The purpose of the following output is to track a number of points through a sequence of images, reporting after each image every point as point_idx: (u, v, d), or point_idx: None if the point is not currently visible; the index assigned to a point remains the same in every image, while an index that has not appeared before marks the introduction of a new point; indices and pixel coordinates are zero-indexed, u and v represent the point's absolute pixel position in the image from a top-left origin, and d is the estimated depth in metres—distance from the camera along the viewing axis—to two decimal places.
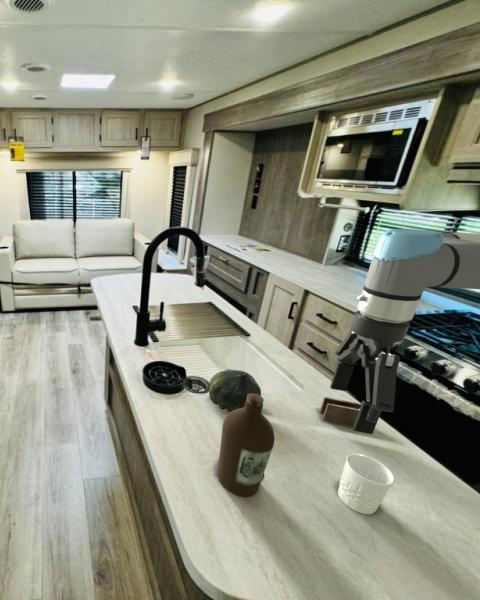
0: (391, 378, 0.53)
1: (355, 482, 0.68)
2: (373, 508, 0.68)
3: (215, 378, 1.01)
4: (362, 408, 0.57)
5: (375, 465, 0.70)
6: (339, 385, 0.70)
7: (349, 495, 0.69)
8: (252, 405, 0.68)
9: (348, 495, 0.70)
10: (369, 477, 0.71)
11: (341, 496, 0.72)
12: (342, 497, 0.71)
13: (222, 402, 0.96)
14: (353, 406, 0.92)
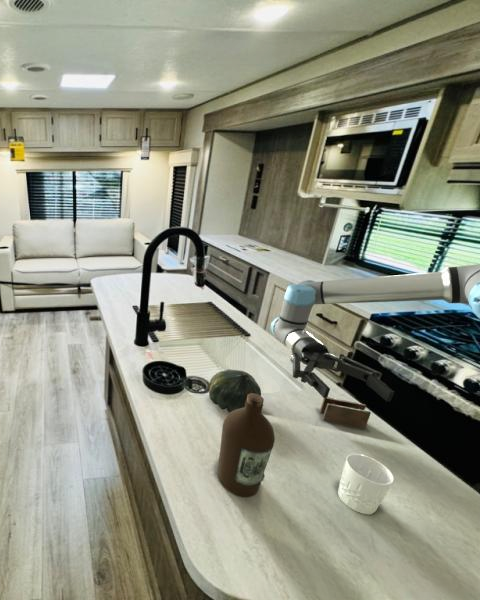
0: None
1: (355, 482, 0.68)
2: (373, 508, 0.68)
3: (215, 378, 1.01)
4: (376, 378, 0.75)
5: (375, 465, 0.70)
6: None
7: (349, 495, 0.69)
8: (252, 405, 0.68)
9: (348, 495, 0.70)
10: (369, 477, 0.71)
11: (341, 496, 0.72)
12: (342, 497, 0.71)
13: (222, 402, 0.96)
14: (353, 406, 0.92)
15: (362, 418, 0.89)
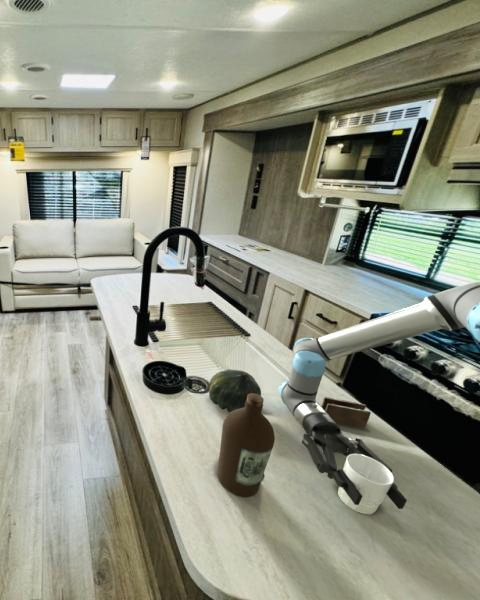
0: None
1: (355, 482, 0.68)
2: (373, 508, 0.68)
3: (215, 378, 1.01)
4: None
5: (375, 465, 0.70)
6: None
7: None
8: (252, 405, 0.68)
9: None
10: (369, 477, 0.71)
11: (341, 496, 0.72)
12: (342, 497, 0.71)
13: (222, 402, 0.96)
14: (353, 406, 0.92)
15: (362, 418, 0.89)
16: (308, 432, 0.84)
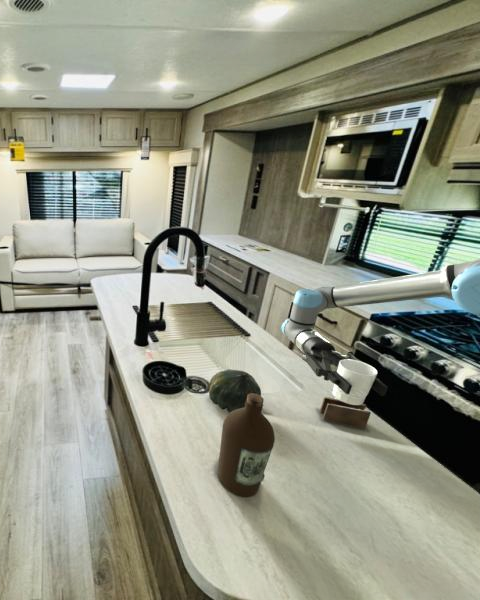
0: None
1: (346, 378, 0.83)
2: (361, 399, 0.83)
3: (215, 378, 1.01)
4: None
5: (363, 366, 0.85)
6: None
7: (341, 390, 0.85)
8: (252, 405, 0.68)
9: (341, 391, 0.85)
10: None
11: (335, 394, 0.87)
12: (336, 395, 0.87)
13: (222, 402, 0.96)
14: (353, 406, 0.92)
15: (362, 418, 0.89)
16: (307, 352, 0.99)
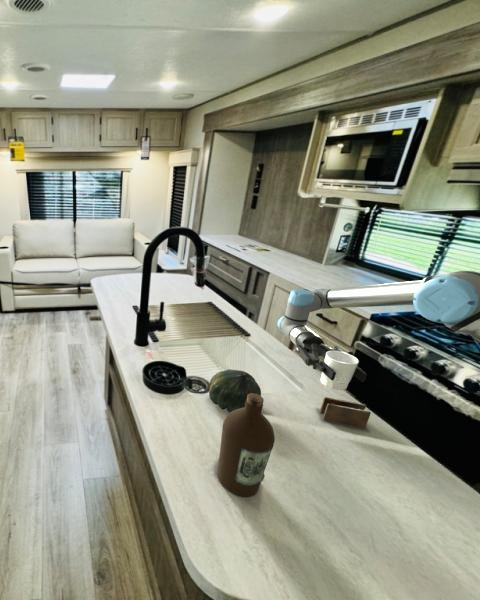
0: None
1: (332, 366, 0.95)
2: (344, 385, 0.95)
3: (215, 378, 1.01)
4: None
5: (346, 357, 0.98)
6: None
7: None
8: (252, 405, 0.68)
9: (327, 378, 0.97)
10: None
11: (322, 381, 0.99)
12: (323, 381, 0.99)
13: (222, 402, 0.96)
14: (353, 406, 0.92)
15: (362, 418, 0.89)
16: (300, 345, 1.12)
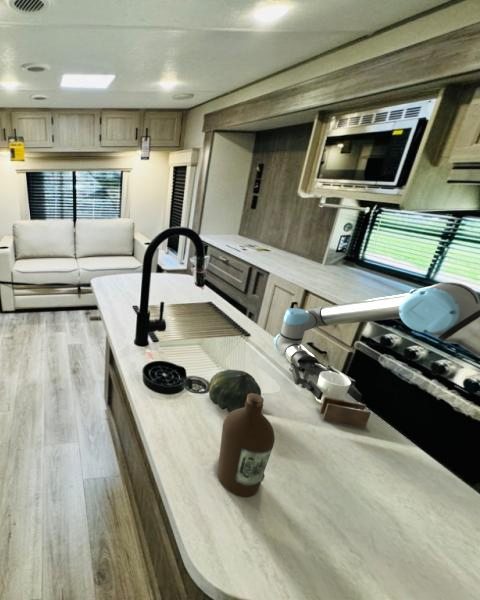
0: None
1: (325, 387, 0.98)
2: None
3: (215, 378, 1.01)
4: None
5: (339, 377, 1.01)
6: None
7: (321, 398, 1.00)
8: (252, 405, 0.68)
9: (321, 398, 1.00)
10: None
11: None
12: None
13: (222, 402, 0.96)
14: (353, 406, 0.92)
15: (362, 418, 0.89)
16: (295, 364, 1.14)
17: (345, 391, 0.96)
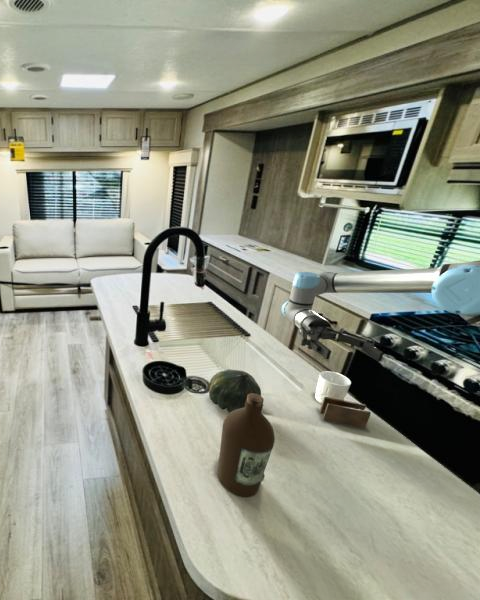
0: None
1: (325, 387, 0.98)
2: None
3: (215, 378, 1.01)
4: (370, 344, 0.93)
5: (339, 377, 1.01)
6: None
7: (321, 398, 1.00)
8: (252, 405, 0.68)
9: (321, 398, 1.00)
10: None
11: None
12: None
13: (222, 402, 0.96)
14: (353, 406, 0.92)
15: (362, 418, 0.89)
16: None
17: (345, 391, 0.96)
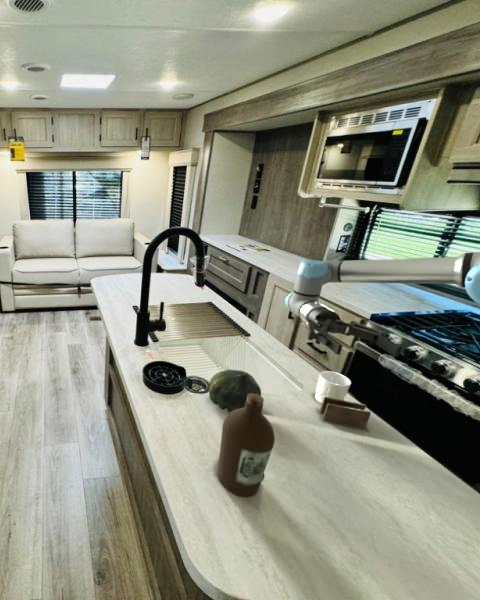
0: None
1: (325, 387, 0.98)
2: None
3: (215, 378, 1.01)
4: (385, 338, 0.83)
5: (339, 377, 1.01)
6: None
7: (321, 398, 1.00)
8: (252, 405, 0.68)
9: (321, 398, 1.00)
10: None
11: None
12: None
13: (222, 402, 0.96)
14: (353, 406, 0.92)
15: (362, 418, 0.89)
16: None
17: (345, 391, 0.96)
